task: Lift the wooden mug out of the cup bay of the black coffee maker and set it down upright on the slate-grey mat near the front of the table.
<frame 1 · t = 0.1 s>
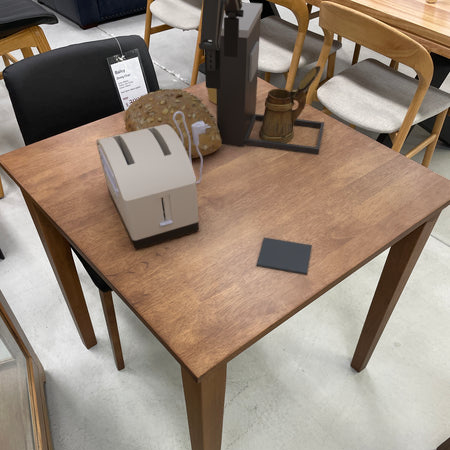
hand: (222, 71, 82), 27 cm above the table, tool pointing down, fingers open, 13 cm apart
coffee maker: (284, 135, 117), on the table
wooden mug: (284, 136, 117), resting in coffee maker
toaster: (172, 206, 99), on the table
bread: (173, 142, 115), on the table
cheese: (231, 102, 129), on the table
mat: (284, 256, 88), on the table
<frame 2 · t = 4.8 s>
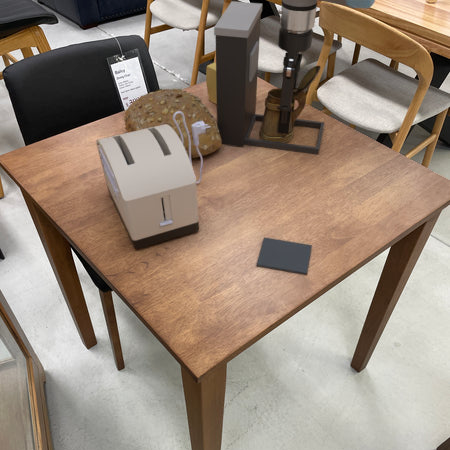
hand: (285, 125, 114), 3 cm above the table, tool pointing down, fingers closed on wooden mug, 7 cm apart
wooden mug: (284, 136, 117), resting in coffee maker, touching gripper
everything else where it was.
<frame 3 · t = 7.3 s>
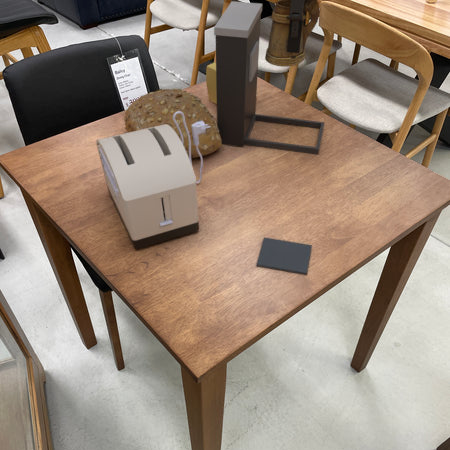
hand: (295, 45, 99), 23 cm above the table, tool pointing down, fingers closed on wooden mug, 7 cm apart
wooden mug: (294, 60, 102), point 19 cm above the table, touching gripper
everything else where it was.
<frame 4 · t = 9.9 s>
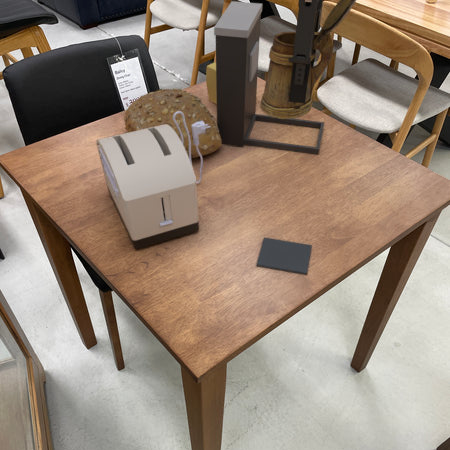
hand: (300, 90, 76), 27 cm above the table, tool pointing down, fingers closed on wooden mug, 7 cm apart
wooden mug: (297, 108, 78), point 24 cm above the table, touching gripper
everything else where it was.
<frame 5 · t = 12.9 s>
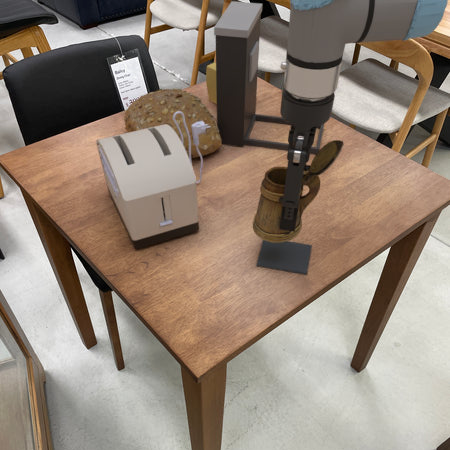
hand: (290, 215, 80), 11 cm above the table, tool pointing down, fingers closed on wooden mug, 7 cm apart
wooden mug: (288, 228, 83), point 7 cm above the table, touching gripper
everything else where it was.
when the fingers open (4 cm above the table, at t = 15.2 s): wooden mug stays where it is, resting on mat.
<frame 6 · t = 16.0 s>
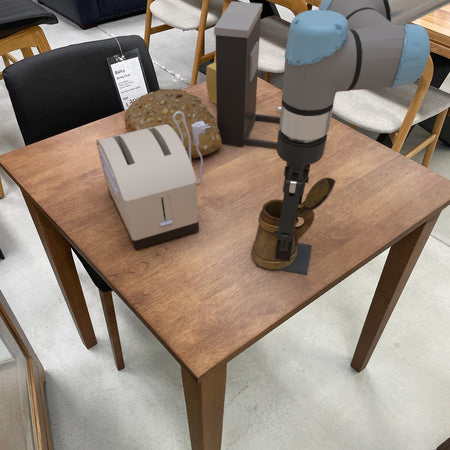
hand: (288, 234, 84), 6 cm above the table, tool pointing down, fingers open, 13 cm apart
wooden mug: (284, 254, 88), resting on mat
everything else where it was.
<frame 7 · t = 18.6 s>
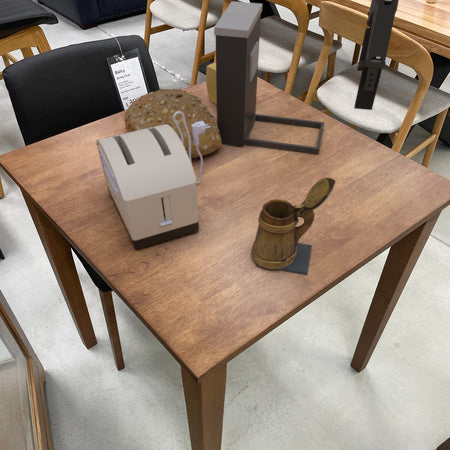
hand: (364, 88, 73), 29 cm above the table, tool pointing down, fingers open, 13 cm apart
nothing on the table moved.
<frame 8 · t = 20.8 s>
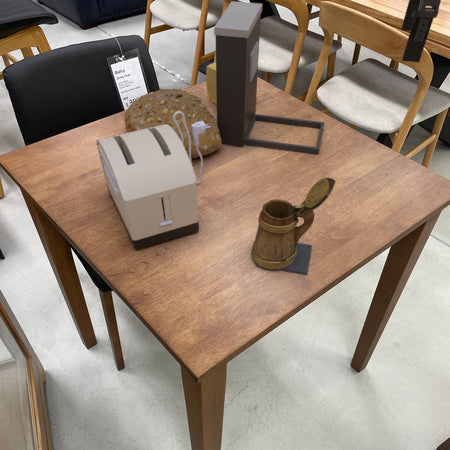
hand: (409, 44, 77), 32 cm above the table, tool pointing down, fingers open, 13 cm apart
nothing on the table moved.
at the end: wooden mug inside the target area on the mat (0.1 cm from its centre), point 0.4 cm above the mat's base; wooden mug tilted 0°; the gripper is holding nothing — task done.
